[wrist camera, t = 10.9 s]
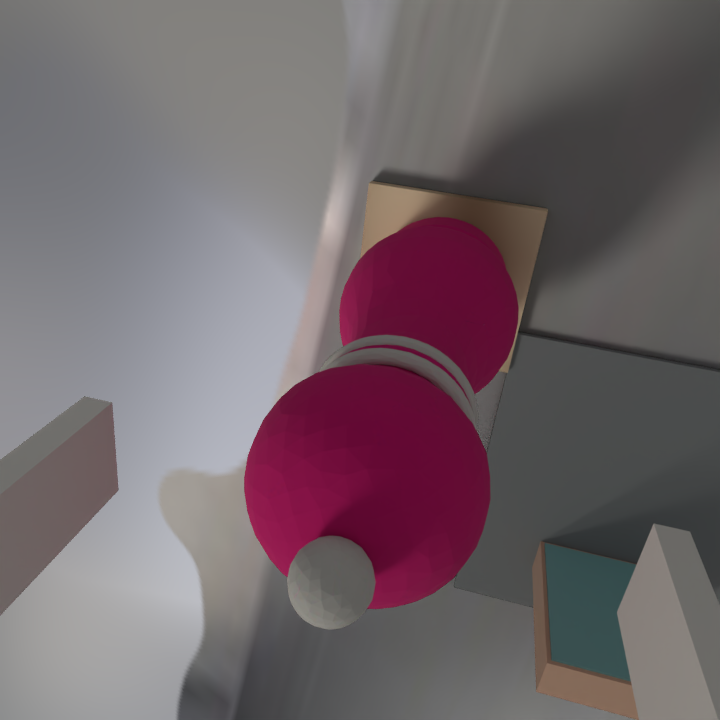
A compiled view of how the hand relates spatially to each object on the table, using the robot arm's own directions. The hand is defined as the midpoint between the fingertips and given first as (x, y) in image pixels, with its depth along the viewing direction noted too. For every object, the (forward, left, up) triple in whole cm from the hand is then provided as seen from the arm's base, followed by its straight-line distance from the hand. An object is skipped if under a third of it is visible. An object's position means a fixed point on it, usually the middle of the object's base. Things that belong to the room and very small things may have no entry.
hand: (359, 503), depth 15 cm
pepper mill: (0, 0, -17) cm, 17 cm away
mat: (+11, -10, -17) cm, 23 cm away
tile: (+12, -15, -17) cm, 25 cm away
